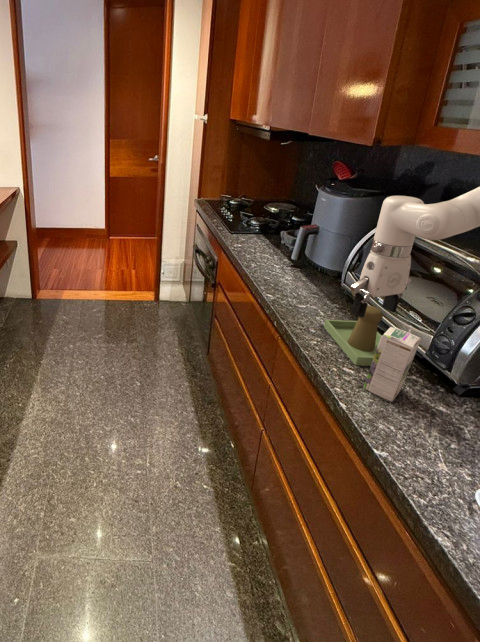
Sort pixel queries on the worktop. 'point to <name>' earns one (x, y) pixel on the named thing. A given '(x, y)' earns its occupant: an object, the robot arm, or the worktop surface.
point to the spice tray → (341, 335)
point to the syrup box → (391, 363)
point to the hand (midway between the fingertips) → (373, 312)
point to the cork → (366, 330)
